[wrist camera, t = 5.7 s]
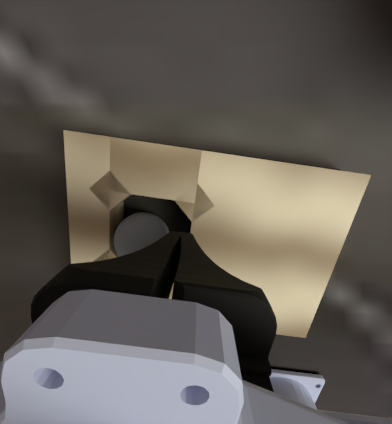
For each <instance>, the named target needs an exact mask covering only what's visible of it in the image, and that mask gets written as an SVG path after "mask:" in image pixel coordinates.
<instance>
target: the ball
mask: <svg viewBox="0 0 392 424" xmlns="http://www.w3.org/2000/svg"><path fill="white" fill-rule="evenodd" d="M167 233H169V229H168V227H167V225H166V224H165V222H164V221H163V220H162V219H161V218H159V217H158V216H156V215H154V214H151V213H146V212H140V213H135V214H132V215H130V216H128V217H126V218H125V219H124V220H123V221H122V222H121V223H120V224H119V226H118V227H117V229H116V231H115V235H114V248H115V251H116V253H117V255H118V256H119V257H120V256H123V255H126V254H130V253H133V252H136V251H138V250H140V249H143V248H145V247H147V246H149V245H150V244H152V243H154V242H156V241H157V240H159V239H160V238H162V237H163V236H165V235H166V234H167Z"/></svg>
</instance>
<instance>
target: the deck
mask: <svg viewBox="0 0 392 424" xmlns="http://www.w3.org/2000/svg"><path fill="white" fill-rule="evenodd" d="M63 133H64V150H65V168H66V185H67V202H68V219H69V237H70V254H71V264H73V263H84V262H94V261H101V260H106V259H111V258H116V257H119V256H118V255H117V253H116V251H115V248H114V235H115V231H116V229H117V227H118V226H119V224H120V223H121V222H122V221H123V217H124V200H126V199H127V198H128V197H129V196H131V195H132V194H133V195H140V196H147V197H154V198H161V199H168V200H174V201H175V202H176V203H177V204H178V206H179V207H180V208H181V209H182V210H183V212H184V213H185V214H186V215H187V217H188V218H189V219H190V220H191V229H190V233H192V234H193V235H194V237H195V239H196V241H197V243H198V244H199V246H200V247H201V249H202V250H203V251H204V253H205V254H206V255H207V256H208V257H209V258H210V259H211V260H212V261H213V262H214V263H215V264H217V265H218V266H219V267H221V268H222V269H224V270H225V271H226V272H228V273H230V274H231V275H233V276H235V277H237V278H239V279H240V280H242V281H245V282H247V283H249V284H252V285H254V286H257V287H259V288H261V289H262V290H263V292H264V294H265V295H266V297H267V299H268V301H269V303H270V305H271V307H272V310H273V312H274V314H275V316H276V321H277V331H276V334H279V335H287V336H295V337H303V338H306V335H307V333H308V330H309V328H310V325H311V323H312V320H313V318H314V315H315V313H316V310H317V308H318V306H319V303H320V301H321V298H322V296H323V293H324V291H325V288H326V286H327V283H328V281H329V278H330V276H331V273H332V271H333V268H334V266H335V263H336V261H337V258H338V256H339V254H340V251H341V249H342V246H343V244H344V241H345V239H346V236H347V234H348V231H349V229H350V226H351V224H352V221H353V219H354V216H355V214H356V211H357V209H358V207H359V204H360V202H361V199H362V197H363V194H364V192H365V189H366V187H367V184H368V182H369V179H370V177H371V175H366V174H360V173H353V172H346V171H340V170H333V169H326V168H319V167H312V166H306V165H299V164H292V163H285V162H278V161H272V160H265V159H258V158H251V157H244V156H238V155H231V154H224V153H217V152H210V151H204V150H197V149H190V148H183V147H176V146H170V145H163V144H156V143H149V142H142V141H136V140H129V139H122V138H115V137H108V136H102V135H95V134H88V133H81V132H74V131H67V130H63ZM173 285H174V283H173ZM172 293H173V287H172V290H171V293H170V296H169V299H172Z"/></svg>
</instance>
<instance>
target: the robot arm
mask: <svg viewBox="0 0 392 424" xmlns="http://www.w3.org/2000/svg"><path fill="white" fill-rule="evenodd" d="M173 283H174V285H173ZM172 287H173V293H172V299H169V296H170V293H171V290H172ZM31 319H32V325H31V326H30V327H29V328H28V329H27V330H26V331H25V332H24V333H23V334H22V336H21V337H20V338H19V339H18V340H17V341H16V342H15V343H14V344H13V345H12V346H11V347H10V348H9V349H8V350H7V351H6V352H5V353H4V358H3V361H0V424H392V418H384V417H375V416H366V415H358V414H349V413H340V412H332V411H323V410H317V408H316V406H315V402H316V400H317V398H318V396H319V394H320V392H321V389H322V387H323V385H324V383H325V380H324V378H323V376H321V375H318V374H309V373H301V372H293V371H284V370H276V369H271V366H270V363H269V360H268V356H269V353H270V350H271V347H272V344H273V341H274V339H275V336H276V331H277V321H276V316H275V314H274V312H273V310H272V307H271V305H270V303H269V301H268V299H267V297H266V295H265V294H264V292H263V290H262V289H261V288H259V287H257V286H254V285H252V284H249V283H247V282H245V281H242V280H240V279H239V278H237V277H235V276H233V275H231V274H230V273H228V272H226V271H225V270H224V269H222V268H221V267H219V266H218V265H217V264H215V263H214V262H213V261H212V260H211V259H210V258H209V257H208V256H207V255H206V254H205V253H204V251H203V250H202V249H201V247H200V246H199V244H198V243H197V241H196V239H195V237H194V235H193V234H192V233H184V232H177V231H170V232H169V233H167V234H166V235H165V236H163V237H162V238H160V239H159V240H157V241H156V242H154V243H152V244H150V245H149V246H147V247H145V248H143V249H140V250H138V251H136V252H133V253H130V254H126V255H123V256H120V257H116V258H111V259H106V260H101V261H94V262H84V263H73V264H69V265H68V266H66V267H65V268H64V269H63V270H62V271H61V272H59V273H58V274H57V275H56V276H55V277H54V278H53V279H51V280H50V281H49V282H48V283H47V284H46V285H45V286H44V287H42V288H41V289H40V290H39V292H38V293H37V294H36V295H35V296H34V299H33V301H32V304H31Z"/></svg>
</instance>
